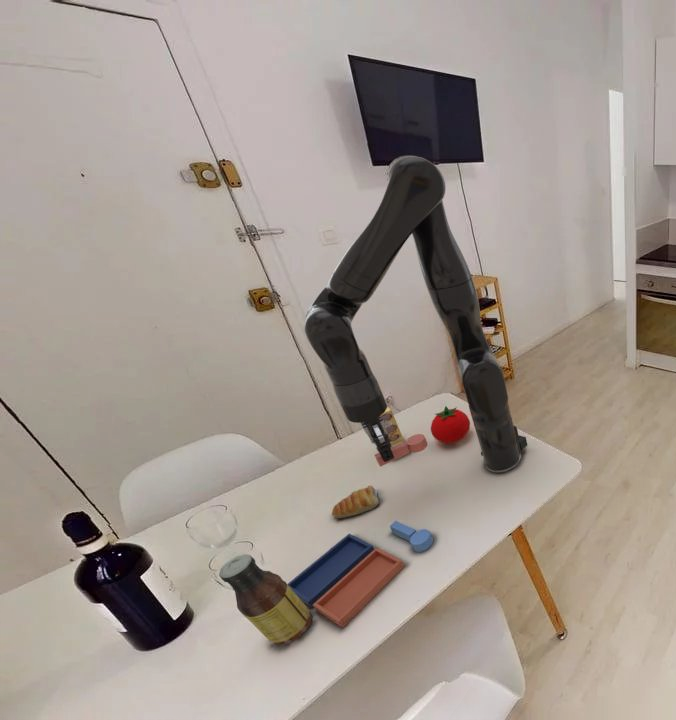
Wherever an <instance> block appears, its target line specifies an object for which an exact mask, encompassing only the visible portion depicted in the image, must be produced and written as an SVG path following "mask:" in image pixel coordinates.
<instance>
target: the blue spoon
mask: <svg viewBox="0 0 676 720" xmlns="http://www.w3.org/2000/svg"><path fill="white" fill-rule="evenodd" d="M389 528H390V531H391V532H392V534H393V535H395V536H397V537H399V538H401V539H404V540H405V541H408V542H409V543H410V545H411V547H412V550H413V551H414V552H417V553H421V552H425V551H426V550H429V548H430V547H431V546H432V545H433V542H434V538H433V536H432V534H431V532H430V530H429V529H427V528H422V529H418V530H416V529H415V528H412V527H410V526H408V525H407V524H404V523H402V522H400V521H397V520H394V521H393V522H392V523H391V524H390V525H389Z"/></svg>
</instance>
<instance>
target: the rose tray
mask: <svg viewBox="0 0 676 720" xmlns="http://www.w3.org/2000/svg"><path fill="white" fill-rule="evenodd" d="M402 560H403V559H402ZM402 560H401V559H400V558H398V557H396V556H395V555H392V554H390V553H388V552H386V551H384V550H383V549H380V548H379V547H376V548H374V550H373V551H372V552H371V553H370V554H369V555H368V556H367V557H365V558H364V559H363V560H362V561H361V562H360V563H359V564H358V565H357V566H355V567H354V568H353V569H352V570H351V571H350V572H349V573H348V574H346V575H345V576H344V577H343V578H342V579H341V580H340V581H339V582H338V583H336V584H335V585H334V586H333V587H332V588H331V589H330V590H329V591H328V592H326V593H325V594H324V595H323V596H322V597H321V598H320V599H319V600H317V601H316V602H315V603H314V604H313V608H314V610H315V611H316V612H317V613H319V614H320V615H322V616H323V617H325V618H327V619H328V620H330V621H331V622H332V623H334V624H336V625H337V626H339V627H340V628H342V629H343V628H344V627H345V626H347V624H348V623H349V622H350V621H351V620H352V619H353V618H354V617H356V615H357V614H358V613H359V612H360V611H362V609H363V608H365V606H366V605H367V604H368V603H369V602H370V601H371V600H373V598H375V596H376V595H377V594H378V593H380V591H381V590H382V589H384V588H385V587H386V586H387V584H388V583H390V582H391V580H393V578H395V577H396V575H397V574H399V573H400V572H401V570H403V569H404V567H405V564H404V562H403V561H402Z"/></svg>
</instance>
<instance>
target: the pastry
mask: <svg viewBox="0 0 676 720" xmlns="http://www.w3.org/2000/svg"><path fill="white" fill-rule="evenodd" d="M377 496H378V492H377V490H376V489H375V488H374V486H372V485H368V486H367V487H364V488H360V489H358V490H354V491H353V492H351V494H349V495H348V496H347V497H345V498H343V499H341V500H340V501H339V502H338V503H336V504H335V505H334V506H333V508H332V512H331V515H332V517H335V518H337V519H344V518H349V517H355V516H358V515H360V514H363V513H365V512H367V511H371V510H373V509H375V508H376V507H377V506H378V505H379V499H378V497H377Z"/></svg>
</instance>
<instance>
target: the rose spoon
mask: <svg viewBox="0 0 676 720" xmlns="http://www.w3.org/2000/svg"><path fill="white" fill-rule="evenodd" d="M427 447H428V442H427V439H426V436H425V435H424V434H422V433H417V434H413V435H410V437H408V438H407V439H406V441H405V442H402V443H400V444H398V445H396V446H393V447H391V450H392V453H393V455H394V458H393V459H391V460H389V461H387V462H384V461H383V459H382V457H381V455H380V453H379V452H378V453H375V454H374V457H375V459H376V461H377V464H378V465H379V467H380V468H381V467H383V466H385V465H387V464H390V463H392V462H393V461H396V460H398V459H400V458H402V457H404V456H407V455H409V454H411V453H420V452H422V451H424V450H425V449H426V448H427Z"/></svg>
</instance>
